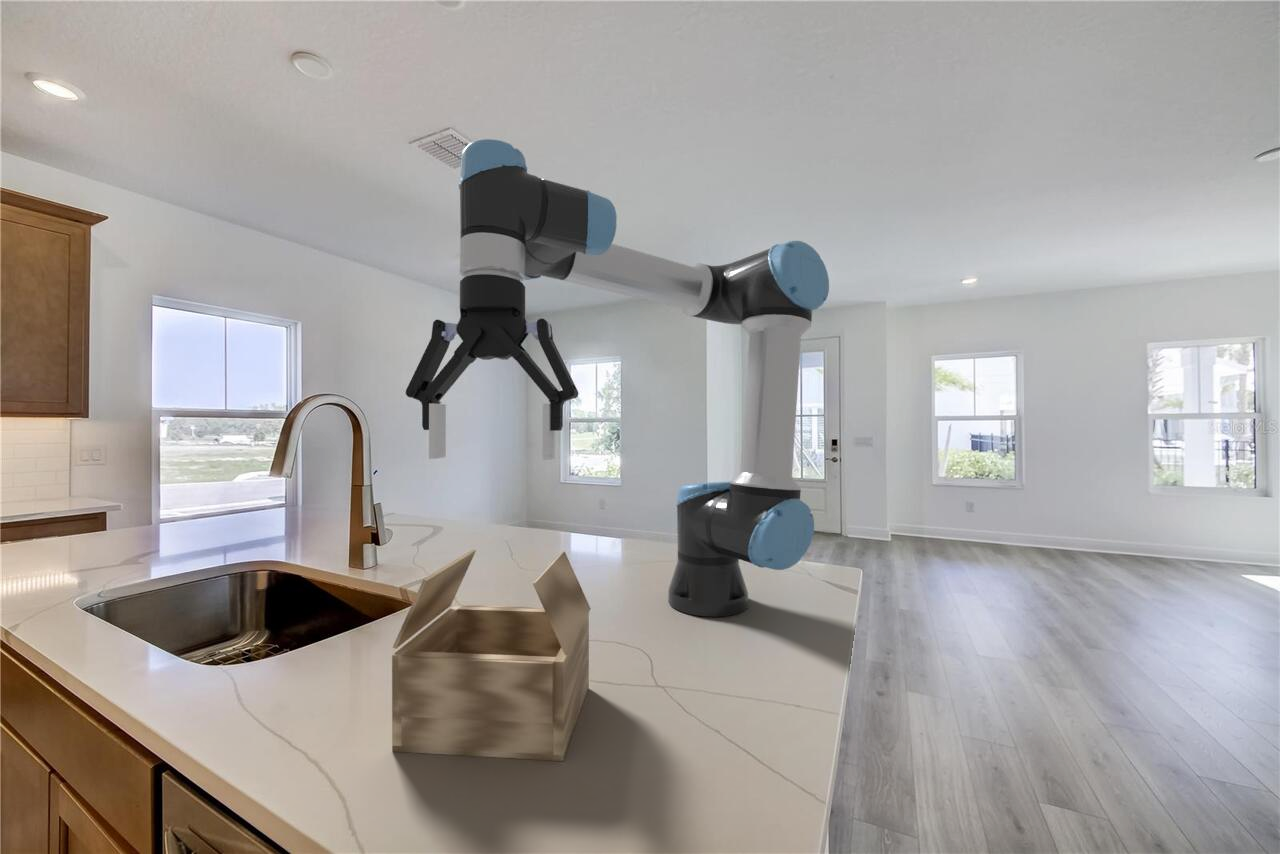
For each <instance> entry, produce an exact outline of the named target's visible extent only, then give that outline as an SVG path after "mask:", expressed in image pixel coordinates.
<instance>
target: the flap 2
mask: <svg viewBox="0 0 1280 854" xmlns="http://www.w3.org/2000/svg"><path fill="white" fill-rule="evenodd" d="M532 585H533V588H534V590H535V592H536V594H537V596H538V598H539V601H540V603H541V605H542V608H544V610H545V612H546V614H547V617H548V619H549V621H550V623H551V625H552V628H553V630H554V632H555V634H556V636H557V639H558V641H559V643H560V645H561V648H562V650H563V652H564V654H565V655H568V654H569V652H570V650H571V648H572V646H573V644H574V642H575V640H576V638H577V636H578V634H579V632H580V630H581V628H582V626H583V624H584V622H585V620H586V617H587V615H588V613H589V614H590V611H591V606H590V604H589V602H588V599H587V598H586V595H585V593H584V591H583V589H582V587H581V584H580V582H579V580H578V578H577V575H576V574H575V570H574V569H573V566H572V565H571V562H570V560H569V558H568V555H567V553H566V552H565V550H564V551H561V553H560V554H559V555H558V556H557V557H556V558H555V559H554V560H553V561H552V562H551V563H550V565H548V566H547V568H546V569H545V570H544V571H543V572H542V573H541V574H540V575H539V576H538V578H536V580H535V581H533V583H532Z"/></svg>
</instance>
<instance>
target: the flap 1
mask: <svg viewBox="0 0 1280 854" xmlns="http://www.w3.org/2000/svg"><path fill="white" fill-rule="evenodd" d="M476 551H477V550H476V549H474V548H473V549H471V550H470V551H468V552H466V553H464V554H462V555H461V556H460V557H458V558H456V559H455V560H453V561H451V562H450V563H448V564H446V565H444V566H443V567H441V568H440V569H437V570H436V571H434V572H433V573H431V574H430V575H427V576H426V577H425V578H423V579H422V581H421V584H420V585H419V588H418V590H417V592H416V594H415V597H414V599H413V601H412V603H411V606H410V607H409V610H408V612H407V614H406V617H405V619H404V621H403V623H402V626H401V628H400V630H399V632H398V634H397V636H396V639H395V641H394V642H393V646H392V648H393V649H395V650H396V649H398V648H399V647H400V646H401V645H403V644H404V643H405V642H407V641H408V640H410V638H412V637H414V635H416V634H417V633H418V632H419V631H421V630H422V629H424V627H427V625H428V624H430V622H432V621H433V620H435V619H437V617H438V616H440V615H442V613H443V612H445V611H446V610H447V609H450V608H451V606H452V605H453V601H454V600H455V598H456V595H457V594H458V591H459V588H460V586H461V585H462V583H463V580H464V578H465V575H466V573H467V571H468V569H469V567H470V565H471V564H472V563H471V562H472V560H473V559H474V556H475V554H476Z"/></svg>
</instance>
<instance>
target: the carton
mask: <svg viewBox="0 0 1280 854" xmlns="http://www.w3.org/2000/svg"><path fill="white" fill-rule="evenodd" d="M589 617H590V612H589V613H588V615H587V617H586V620H585V622H584V624H583V626H582V628H581V630H580V632H579V634H578V636H577V638H576V640H575V642H574V644H573V646H572V648H571V650H570V652H569V654H568V655H565V654H564V652H563V650H562V648H561V645H560V643H559V641H558V639H557V636H556V634H555V632H554V630H553V628H552V625H551V623H550V621H549V619H548V617H547V614H546V612H545V610H544V608H543V606H542V607H541V606H540V607H538V606H507V605H477V604H476V605H475V604H473V605H472V604H462V605H461V606H459V605H458V606H457V605H456V606H455V605H454V606H452V607H449V608H448V610H447V611H446V612H445V611H444V613H443V614H441V616H440V615H439V617H438V618H436V620H435V619H434V620H435V621H433V622H432V623H429V625H428V626H426V627H425V628H423V630H422V631H420V632H419V633H418V634H417V635H416V636H413V638H412V639H409V641H408V642H406V643H405V644H404V645H403V646H402V647H401V648H399V649H398V650H397V651H395V652H394V653H393V654H391V715H392V717H391V722H392V723H391V731H392V732H391V734H392V735H391V744H392V745H391V746H392V748H391V749H392V752H394V753H395V752H398V753H413V754H414V753H415V754H429V755H430V754H431V755H445V756H447V755H448V756H449V755H450V756H463V757H464V756H465V757H466V756H468V757H484V758H485V757H487V758H501V759H503V758H504V759H517V760H518V759H519V760H522V759H523V760H537V761H538V760H539V761H553V762H554V761H555V762H557V761H558V762H564V761H565V757H566V754H567V752H568V749H569V747H570V744H571V739H573V738H572V737H573V734H574V732H575V728H576V727H577V723H578V720H579V717H580V714H581V712H582V708H583V705H584V703H585V699H586V697H587V694H588V692H589V690H590V689H589V687H590V684H589V683H590V681H589V680H590V677H589V676H590V675H589V674H590V672H589V671H590V665H589V664H590V660H589V659H590V658H589V657H590V656H589V655H590V654H589V653H590V652H589V651H590V650H589V649H590V644H589V643H590V639H589V638H590V629H589V628H590V623H589V622H590V621H589V620H590V618H589Z"/></svg>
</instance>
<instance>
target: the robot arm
mask: <svg viewBox="0 0 1280 854" xmlns="http://www.w3.org/2000/svg"><path fill="white" fill-rule="evenodd" d="M525 157H526V156H524V154H523V153H522V151H521V150H520V149H518V148H515V147H514V146H513V145H512V143H508V142H506V141H503V140H498V139H493V138H492V139H490V138H489V139H488V138H486V139H477V140H474V141H472V142H470V143H469V144H467V146H465V148H464V149H463V150H462V154H461V162H460V164H461V165H460V177H459V184H458V189H459V198H460V199H459V201H460V202H459V206H460V207H459V208H460V209H459V210H460V211H459V214H460V216H459V217H460V237H459V238H460V240H459V241H460V242H459V275H461V276H462V279H461V280H460V281H459V313H460V316H459V319H458V322H457V323H452V322H445V321H443V320H442V319H435V320H434V321H433V322H432V328H431V329H432V330H431V337H430V340H429V342H428V344H427V346H426V348H425V350H424V352H423V354H422V356H421V358H420V360H419V363H418V365H417V367H416V369H415V371H414V373H413V375H412V377H411V379H410V380H409V384H408V385H407V387H406V390H405V395H406V396H407V397H408V398H410V399H411V398H412V399H415V400H417V401H419V402H420V403H421V406H422V408H421V413H422V414H421V415H422V418H421V425H422V426H421V428H422V429H423V431H428V460H435V459H444V458H446V457H447V456H446V448H447V447H446V446H447V445H446V438H447V437H446V436H447V435H446V434H447V432H446V430H447V427H446V426H447V424H446V421H447V420H446V419H447V417H446V414H447V413H446V412H447V411H446V410H447V407H446V406H447V404H445V403H444V404H443V403H442V401H441V400H442V399H443V397H444V396H445V395H446V393H448V391H449V390H451V388H452V386H453V385H455V383H456V381H457V380H458V379H459V378H460V377H461V376H462V375H463V373H464V372H465V371H466V370H467V368H468V367H469V366H470V365H471V364H473V363H474V362H475V361H476V360H477V359H480V360H483V361H484V360H485V361H486V360H487V361H489V360H494V359H499V360H501V361H502V360H509V359H510V358H512V359H514V360H515V361H516V362H517V363H518V364H519V366H520V367H521V368H522V369H523V370H524V371H525V373H526V374H527V375H528V377H530V378H531V380H532V381H533V382H534V384H535V385H536V386H537V388H538V389H539V390H540V391H541V392H542V393H543V394H544V396H545V397H546V398H547V399H548V402H549V403H542V460H543V461H545V460H547V461H548V460H552V459H555V448H556V447H555V433H556V431H557V432H558V431H562V429H563V427H564V404H565V403H566V402H567V401H570V400H572V399H576V398H578V397H579V390H578V388H577V387H576V384H575V381H574V380H573V378H572V376H571V374H570V371H569V370H568V368H567V365H566V364H565V362H564V360H563V358H562V356H561V353H560V351H559V350H558V348H557V345H556V343H555V342H554V337H553V336H554V335H553V327H552V325H551V323H550V322H548V320H546V318H539V319H537V321H533V322H527V319H526V286H525V285H524V283H523V281H527V280H528V281H529V280H530V281H531V280H534V279H539V278H541V277H546V278H550V279H554V280H560V281H565V282H567V283H572V284H573V283H574V284H577V285H581V286H585V287H590V288H594V289H599V290H603V291H607V292H611V293H615V294H619V295H624V296H628V297H633V298H635V299H636V298H637V299H640V300H644V301H645V300H646V301H649V302H653V303H658V304H662V305H666V306H671V307H675V308H680V310H681V311H682V313H683V314H685V315H686V316H689V317H693V318H698V319H702V320H707V321H712V322H715V323H722V324H729V325H741V327H742V328H743V330H745V331H746V332H747V334H748V335H749V337H748V338H749V339H748V351H747V368H746V378H745V380H746V381H745V383H746V384H745V392H744V393H745V394H744V395H745V397H744V408H743V422H742V423H743V424H742V435H741V437H742V440H741V453H740V467H739V472H738V474H737V475H736V476H735V477H733V478H732V479H731V480H730V481H719V482H718V481H715V482H701V483H689V484H683V485H681V486H680V487H679V489H678V492H677V503H676V507H677V508H676V512H677V513H676V517H677V518H676V524H677V526H676V527H677V561H676V565H675V568H674V571H673V575H672V578H671V581H670V584H669V587H668V598H667V599H668V603H669V605H670V607H672V608H673V609H674V610H676V611H679V612H681V613H685V614H689V615H692V616H699V617H710V618H711V617H712V618H714V617H728V616H733V615H736V614H740V613H742V612H744V611H746V610H747V609H748V607H749V592H748V589H747V585H746V582H745V579H744V575H743V573H742V569H741V566H740V563H739V561H744V562H746V563H750V564H752V565H754V566H756V567H758V568H767V569H770V570H775V571H784V570H786V569H787V570H788V569H790V568H792V567H794V566H795V565H796V564H798V563H799V562H800V561H801V559H802V558H803V556H804V557H805V555H806V554H807V552H808V550H809V548H810V546H811V545H812V540H813V537H814V532H815V518H814V515H813V514H812V513H811V511H812V510H811V508H810V506H809V505H808V504H806V502H804V501H803V500H801V490H802V489H801V486H800V485H799V484H798V482H797V481H796V480H795V479H794V478H793V468H794V467H793V465H794V451H795V436H796V420H797V403H798V388H799V375H800V372H799V371H800V358H801V357H800V356H801V346H802V345H801V341H802V335H804V334H805V333H806V332H807V331H808V330H809V329H811V327H812V317H813V311H814V310H816V311H817V309H819V308H820V307H822V305H824V303H825V302H826V301H827V299H828V297H829V296H828V295H829V292H830V279H829V274H828V270H827V268H826V265H825V263H824V261H823V260H822V258H821V255H820V254H819V252H817V250H816V249H815V248H814V247H813V246H812V245H810V244H808V243H806V242H805V241H804V242H803V241H801V240H790V241H787V242H784V243H781V244H778V243H777V244H774V245H773V246H771V248H767V249H766V250H763V251H761V252H758V253H754V254H752V255H750V256H747V257H744V258H742V259H739V260H736V261H734V262H730V263H726V264H722V265H709V264H705V263H700V262H698V263H695V264H693V265H692V266H691V265H688V264H684V263H680V262H677V261H674V260H670V259H667V258H663V257H659V256H657V255H656V256H655V255H653V254H650V253H646V252H643V251H639V250H636V249H633V248H629V247H625V246H622V245H618V244H616V243H613V242H614V240H615V235H616V232H617V225H618V224H617V220H618V218H617V217H618V216H617V211H616V207H615V206H614V203H613V202H612V201H611V200H610V199H609V198H608V197H607V198H606V197H604V196H601V195H599V194H596V193H594V192H591V191H590V190H588V189H587V190H585V189H581V188H577V187H573V186H571V185H570V186H569V185H567V184H564V183H559V182H555V181H551V180H549V179H545V178H540V177H538V176H536V175H534V174H530V173H528V167H527V162H526V158H525ZM529 334H532V337H533V338H534V339H535V340H537V341H538V342H539V345H540V346H541V349H542V351H543V352H544V355H545V357H546V359H547V362H548V363H549V365H550V367H551V369H552V371H553V374H554V375H555V378H556V380H557V381H558V383H559V385H560V387H561V390H559V389H558V388H557V386H555V385H554V384H553V382H552V381H551V380H550V379H549V377H548V376H547V375H546V374H545V373H544V371H543V370H542V369H541V368H540V367H539V366H538V364H537V363H536V362H535V361H534V360H533V357H531V355H530V354H529V353H528V351H527V350H526V349H525V348H524V347H523V345H522V344H523V343H524V341H526V339H527V337H528V336H529ZM456 335H458V337H459V339H461V342H460V344H459V345H458V347H456V349H455V350H454V352H453V355H452V357H451V358H450V359H449V360H448V361H447V363H446V364H445V365H444V366H443V368H442V369H441V370H440V371H439V372H438V370H439V368H440V366H441V364H442V362H443V360H444V357H445V355H446V354H447V352H448V349H449V347H450V343H451V342H452V341H453V340H454V339H455V336H456ZM437 372H438V374H437ZM436 374H437V375H436Z"/></svg>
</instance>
